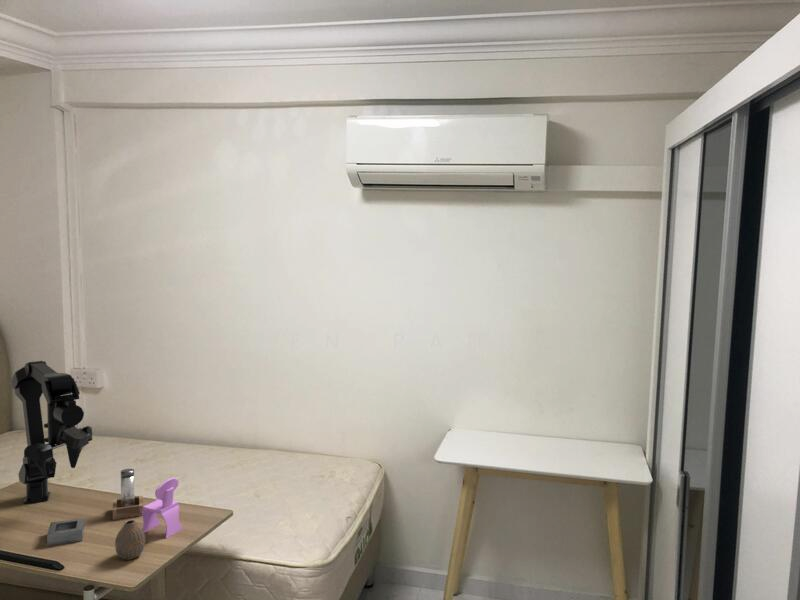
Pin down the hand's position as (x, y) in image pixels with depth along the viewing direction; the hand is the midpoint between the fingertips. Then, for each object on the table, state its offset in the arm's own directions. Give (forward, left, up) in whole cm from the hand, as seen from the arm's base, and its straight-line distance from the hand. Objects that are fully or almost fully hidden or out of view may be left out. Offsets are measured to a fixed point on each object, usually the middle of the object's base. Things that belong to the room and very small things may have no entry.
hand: (60, 473), depth 171 cm
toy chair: (+20, +26, -13) cm, 35 cm away
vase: (+32, +18, -13) cm, 39 cm away
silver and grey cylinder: (+3, +17, -13) cm, 22 cm away
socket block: (+14, +2, -13) cm, 19 cm away
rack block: (+3, +17, -13) cm, 22 cm away
